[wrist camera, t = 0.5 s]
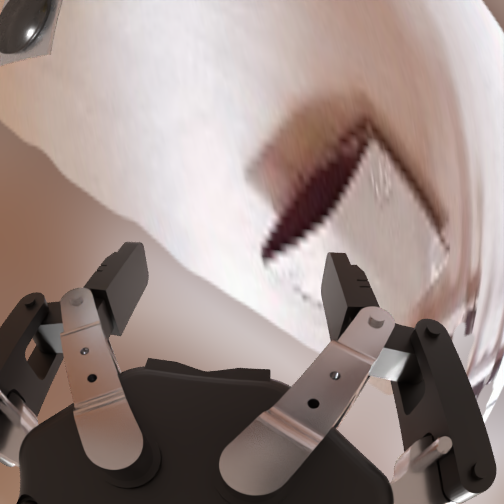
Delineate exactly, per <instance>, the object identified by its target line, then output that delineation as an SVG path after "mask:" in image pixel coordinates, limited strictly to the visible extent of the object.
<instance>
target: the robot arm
mask: <svg viewBox="0 0 504 504" xmlns="http://www.w3.org/2000/svg"><path fill="white" fill-rule="evenodd" d="M147 283H148V268H147V263H146V257H145V251H144V246H143V244H142V243H140V242H125V243H124V244H123V245H122V247H121V248H120V249H119V251H118V252H114V253H113V254H111V255H110V256H109V257H107V258H106V259H105V260H104V261H103V263H102V264H101V266H99V268H98V269H97V271H96V272H95V273H94V274H93V275H92V277H91V278H90V279H89V281H88V282H87V283H86V285H85V286H84V287H83V288H76V289H73V290H70V291H69V292H67V293H66V294H65V295H64V296H63V297H62V298H61V301H60V302H51V303H47V302H46V300H45V297H44V295H43V294H41V293H31V294H29V295H26V296H25V297H23V298H22V299H21V300H20V301H19V303H18V304H17V305H16V307H15V308H14V309H13V311H12V312H11V313H10V315H9V316H8V317H7V319H6V320H5V322H4V323H3V324H2V326H1V327H0V462H1V463H3V464H4V465H6V466H10V467H11V466H15V465H16V466H18V467H20V479H21V480H20V495H19V499H18V502H17V504H461V503H463V502H465V501H467V500H469V499H471V498H473V497H475V496H477V495H479V494H481V493H482V492H484V491H486V490H487V489H488V488H489V487H490V486H491V485H492V483H493V481H494V479H495V477H496V463H495V460H494V455H493V452H492V448H491V444H490V441H489V437H488V434H487V431H486V427H485V424H484V421H483V418H482V415H481V412H480V409H479V407H478V404H477V401H476V398H475V395H474V392H473V390H472V387H471V385H470V382H469V380H468V377H467V375H466V372H465V370H464V368H463V365H462V363H461V360H460V358H459V356H458V354H457V351H456V349H455V347H454V345H453V342H452V340H451V338H450V336H449V334H448V332H447V330H446V328H445V327H444V326H443V325H442V324H440V323H439V322H437V321H435V320H432V319H422V320H420V321H419V322H418V323H417V324H416V326H415V328H411V327H407V326H402V325H399V324H396V323H395V320H394V318H393V316H392V315H391V314H390V313H389V312H388V311H386V310H384V309H382V308H380V307H379V305H378V302H377V300H376V297H375V295H374V293H373V291H372V288H370V287H371V286H370V284H369V282H368V279H367V277H366V275H365V273H364V271H362V270H361V269H360V268H359V267H358V266H357V265H351V264H350V262H349V259H348V257H347V255H346V253H333V252H329V253H328V254H327V258H326V263H325V269H324V274H323V279H322V285H321V296H322V301H323V305H324V310H325V315H326V319H327V324H328V329H329V334H330V339H331V342H330V343H329V344H328V345H327V346H326V348H325V349H324V350H323V351H322V352H321V354H320V355H319V356H318V357H317V358H316V360H315V361H314V362H313V363H312V364H311V366H310V367H309V368H308V369H307V370H306V371H305V372H304V373H303V375H302V376H301V377H300V378H299V379H298V380H297V381H296V382H295V384H294V385H293V386H292V387H291V386H289V385H287V384H285V383H283V382H280V381H277V380H274V379H270V370H269V369H248V368H235V369H227V370H220V371H210V372H205V371H201V370H198V369H195V368H192V367H189V366H187V365H184V364H181V363H178V362H173V361H166V360H159V359H152V358H148V360H147V363H146V365H145V367H138V368H133V369H129V370H127V371H124V372H122V373H121V371H120V368H119V365H118V363H117V360H116V358H115V355H114V352H113V349H112V347H111V344H110V341H109V337H110V335H117V336H121V335H122V333H123V331H124V329H125V327H126V325H127V323H128V321H129V319H130V317H131V315H132V313H133V311H134V309H135V307H136V305H137V303H138V301H139V299H140V297H141V296H142V294H143V292H144V290H145V288H146V286H147ZM32 338H33V340H34V342H35V343H36V347H35V349H34V350H33V352H32V354H31V355H30V357H29V359H28V361H26V358H25V350H26V348H27V346H28V344H29V342H30V341H31V339H32ZM63 358H64V362H65V367H66V372H67V377H68V381H69V386H70V390H71V394H72V398H73V402H74V403H73V404H71V405H69V406H68V407H66V408H65V409H63V410H62V411H60V412H58V413H57V414H55V415H54V416H52V417H50V418H49V419H47V420H46V421H44V422H43V423H41V424H39V425H38V420H37V416H38V414H39V411H40V409H41V406H42V404H43V402H44V399H45V397H46V395H47V392H48V390H49V388H50V385H51V383H52V381H53V379H54V377H55V375H56V373H57V371H58V368H59V366H60V364H61V362H62V360H63ZM370 376H373V377H378V378H382V379H387V380H390V381H391V385H392V390H393V394H394V399H395V403H396V408H397V413H398V418H399V423H400V429H401V434H402V440H403V446H404V453H403V454H402V455H401V456H400V457H399V458H398V459H397V461H396V463H395V466H394V476H393V479H392V481H391V483H389V481H388V479H387V477H386V476H385V475H384V474H383V473H382V472H381V471H380V470H379V469H378V468H377V467H376V466H375V465H374V464H373V463H372V462H370V461H369V460H368V459H367V458H366V457H365V456H364V455H363V454H362V453H360V451H359V450H358V449H356V448H355V447H354V446H353V445H352V444H351V443H350V442H349V441H348V440H347V439H346V438H345V437H344V436H343V435H342V434H341V433H340V432H339V431H338V430H337V428H338V427H339V425H340V424H341V422H342V421H343V419H344V418H345V416H346V415H347V413H348V412H349V410H350V408H351V407H352V405H353V404H354V402H355V401H356V399H357V398H358V396H359V394H360V393H361V391H362V390H363V388H364V386H365V385H366V383H367V381H368V380H369V378H370Z"/></svg>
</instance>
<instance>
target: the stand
mask: <svg viewBox="0 0 504 504" xmlns="http://www.w3.org/2000/svg"><path fill="white" fill-rule="evenodd" d="M61 3H62V0H5V2H4V6H3V9H2V12H1V14H0V66H3V65H7V64H10V63H14V62H18V61H22V60H26V59H31V58H35V57H40V56H45V55H50V54H51V48H52V42H53V37H54V32H55V28H56V23H57V19H58V15H59V11H60V7H61Z"/></svg>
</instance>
